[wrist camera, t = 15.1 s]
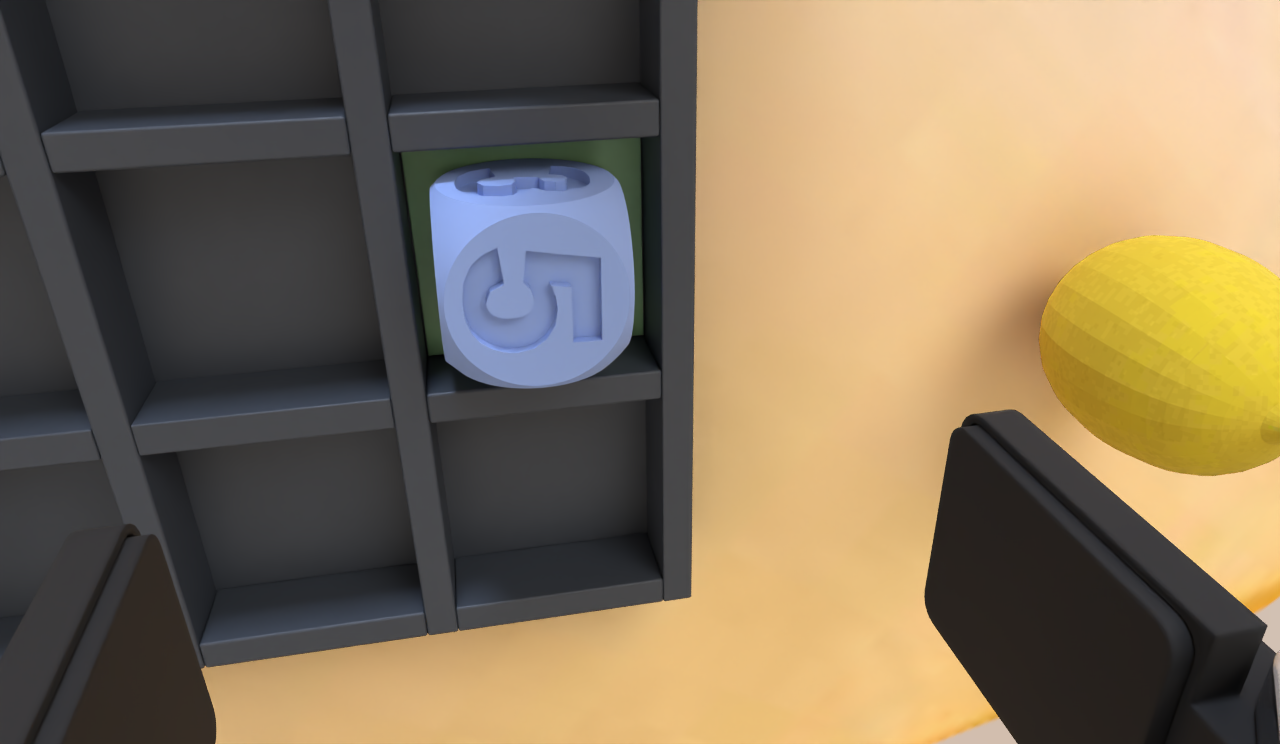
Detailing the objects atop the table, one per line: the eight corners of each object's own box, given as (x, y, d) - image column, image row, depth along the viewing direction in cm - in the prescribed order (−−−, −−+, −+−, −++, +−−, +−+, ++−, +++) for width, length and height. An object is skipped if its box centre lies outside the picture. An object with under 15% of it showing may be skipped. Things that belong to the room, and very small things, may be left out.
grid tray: (-58, 640, 25) (-109, 714, 22) (-486, -257, 16) (-645, -286, 13) (670, 541, 28) (691, 597, 26) (669, -248, 19) (701, -269, 17)
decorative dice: (606, 310, 23) (635, 382, 20) (446, 323, 23) (448, 398, 19) (603, 154, 22) (635, 201, 18) (429, 161, 21) (428, 213, 17)
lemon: (1137, 367, 28) (1366, 518, 21) (972, 386, 27) (1155, 550, 20) (1182, 192, 26) (1458, 298, 19) (1002, 206, 25) (1222, 323, 18)
